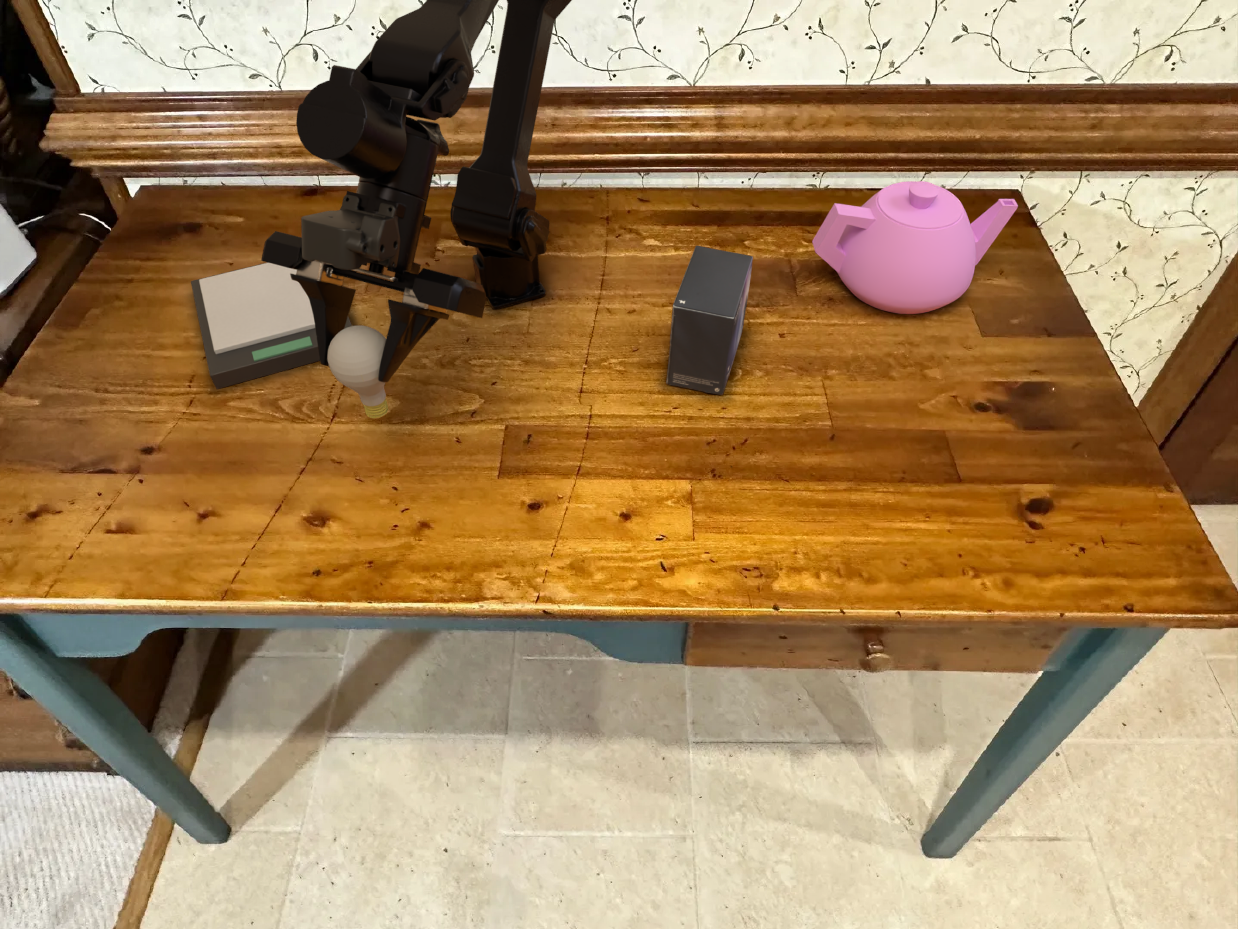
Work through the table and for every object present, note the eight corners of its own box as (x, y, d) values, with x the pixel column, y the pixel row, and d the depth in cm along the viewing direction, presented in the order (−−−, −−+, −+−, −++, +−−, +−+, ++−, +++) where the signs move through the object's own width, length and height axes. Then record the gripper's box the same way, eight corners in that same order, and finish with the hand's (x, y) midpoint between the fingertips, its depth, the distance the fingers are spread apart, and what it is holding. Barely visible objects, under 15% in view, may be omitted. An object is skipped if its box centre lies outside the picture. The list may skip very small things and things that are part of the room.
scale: (327, 262, 105) (321, 244, 103) (360, 349, 95) (354, 331, 93) (196, 294, 101) (188, 276, 99) (216, 389, 91) (207, 371, 89)
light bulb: (418, 419, 81) (397, 338, 74) (364, 445, 79) (336, 365, 72) (392, 385, 84) (368, 303, 76) (339, 410, 82) (309, 328, 74)
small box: (726, 398, 90) (736, 318, 82) (664, 386, 91) (668, 306, 83) (744, 332, 97) (756, 253, 89) (687, 322, 98) (693, 242, 90)
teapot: (823, 329, 97) (844, 236, 88) (790, 245, 107) (806, 154, 98) (1015, 315, 99) (1055, 222, 90) (965, 234, 109) (996, 143, 100)
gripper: (235, 143, 68) (197, 340, 70) (448, 191, 64) (401, 400, 66) (320, 180, 79) (284, 349, 81) (507, 223, 75) (465, 401, 77)
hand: (353, 373), depth 76 cm, fingers closed on light bulb, 5 cm apart
